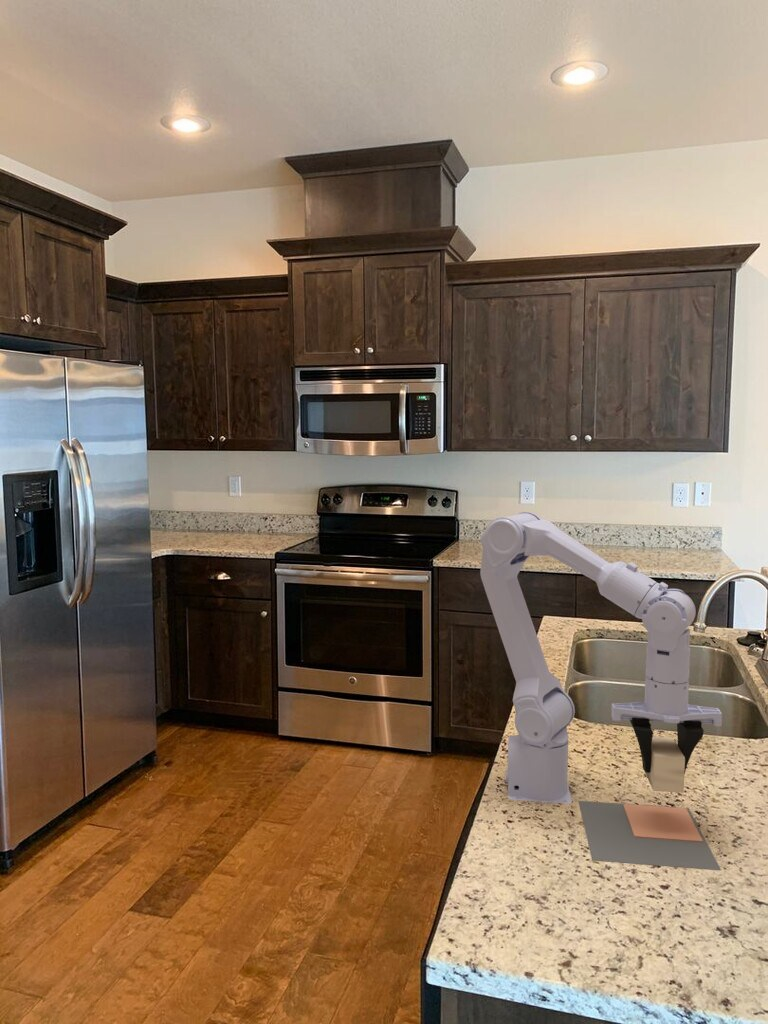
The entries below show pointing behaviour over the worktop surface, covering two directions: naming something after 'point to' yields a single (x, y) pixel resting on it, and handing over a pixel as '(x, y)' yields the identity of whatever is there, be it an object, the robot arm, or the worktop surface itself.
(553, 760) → the robot arm
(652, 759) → the birch block
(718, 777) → the worktop surface
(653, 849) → the rubber mat
